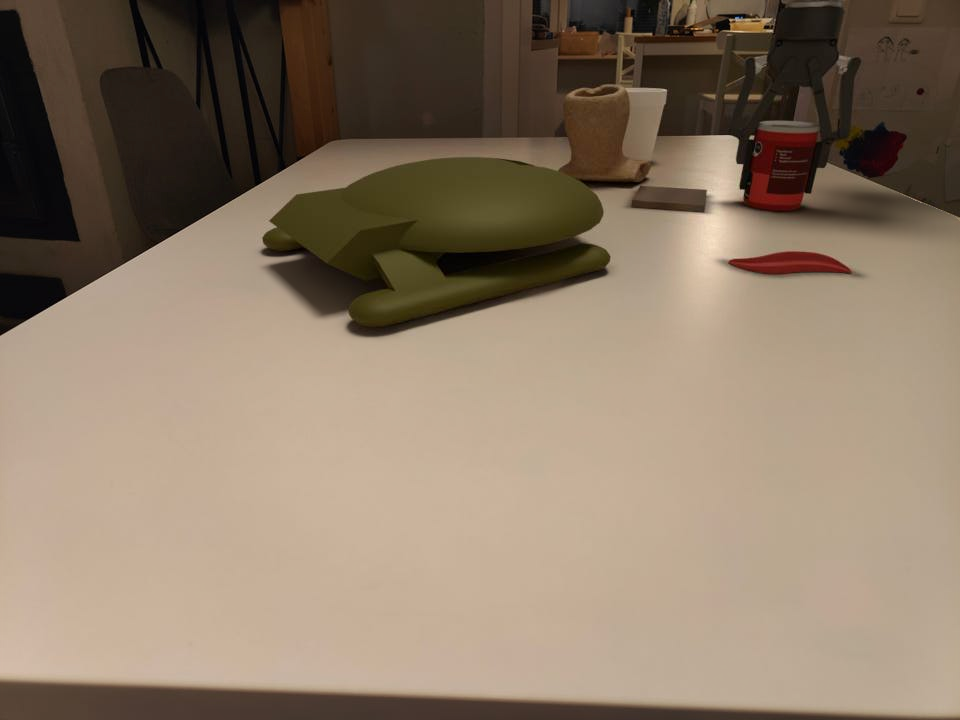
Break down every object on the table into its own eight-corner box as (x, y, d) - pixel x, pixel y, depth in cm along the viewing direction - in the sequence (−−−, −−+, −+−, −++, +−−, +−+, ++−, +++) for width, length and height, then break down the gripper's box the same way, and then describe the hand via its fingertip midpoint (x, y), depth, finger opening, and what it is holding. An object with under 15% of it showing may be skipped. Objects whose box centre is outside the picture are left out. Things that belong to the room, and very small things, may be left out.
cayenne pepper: (726, 268, 65) (729, 251, 64) (729, 255, 69) (732, 239, 68) (855, 283, 61) (860, 265, 60) (850, 268, 64) (855, 251, 64)
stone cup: (549, 186, 101) (553, 87, 94) (564, 172, 111) (569, 82, 104) (643, 192, 97) (655, 88, 90) (650, 177, 107) (661, 83, 100)
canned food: (758, 196, 94) (773, 119, 89) (811, 205, 88) (830, 124, 83) (731, 204, 89) (745, 123, 84) (784, 214, 84) (803, 129, 79)
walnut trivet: (706, 196, 94) (707, 189, 94) (704, 212, 86) (705, 204, 85) (639, 192, 97) (640, 185, 97) (631, 206, 89) (632, 199, 88)
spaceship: (364, 340, 51) (351, 222, 46) (258, 247, 73) (242, 162, 69) (658, 260, 67) (670, 168, 63) (498, 205, 90) (498, 134, 86)
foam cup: (598, 161, 121) (604, 89, 115) (635, 157, 125) (643, 87, 119) (630, 169, 113) (638, 92, 107) (668, 164, 117) (678, 90, 111)
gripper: (725, 6, 77) (697, 190, 88) (915, 2, 71) (860, 200, 82) (725, 8, 83) (699, 180, 94) (899, 4, 77) (850, 188, 88)
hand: (774, 189), depth 88 cm, fingers closed on canned food, 8 cm apart
